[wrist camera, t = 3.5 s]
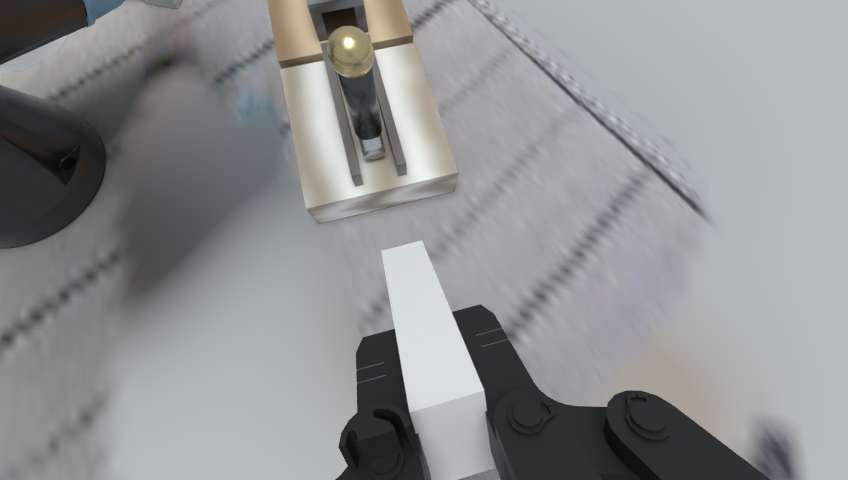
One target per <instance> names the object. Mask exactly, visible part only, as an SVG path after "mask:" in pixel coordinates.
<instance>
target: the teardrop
mask: <svg viewBox="0 0 848 480" xmlns="http://www.w3.org/2000/svg"><path fill="white" fill-rule="evenodd" d="M66 37H67V35H66V36H64V37H61V38H59V39H57V40H55V41H53V42H50V43H48V44H46V45H44V46H41V47H39V48H37V49H35V50H33V51H30V52H28V53H26V54H24V55H21V56H19V57H17V58H15V59H13V60H10V61H8V62H6V63H4V64H1V65H0V73H7V72H17V71H21V70H23V69H26V68H29V67H31V66H34V65H36V64H39V63H41V62H43V61H44V60H45V59H47V58H48V57H49V56H50V55H52V54H53V53H54V52H55V51H56V50H58V49H59V48H60V47H61V45H62V44H63V42H64V40H65V39H66Z"/></svg>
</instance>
